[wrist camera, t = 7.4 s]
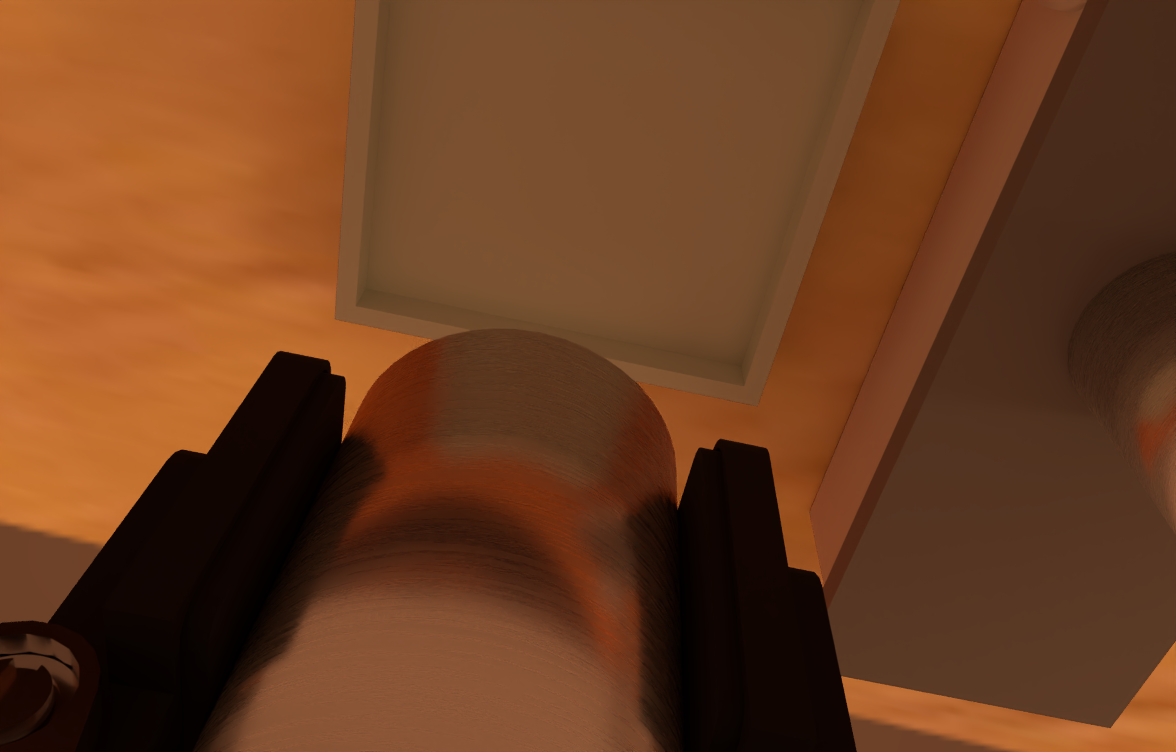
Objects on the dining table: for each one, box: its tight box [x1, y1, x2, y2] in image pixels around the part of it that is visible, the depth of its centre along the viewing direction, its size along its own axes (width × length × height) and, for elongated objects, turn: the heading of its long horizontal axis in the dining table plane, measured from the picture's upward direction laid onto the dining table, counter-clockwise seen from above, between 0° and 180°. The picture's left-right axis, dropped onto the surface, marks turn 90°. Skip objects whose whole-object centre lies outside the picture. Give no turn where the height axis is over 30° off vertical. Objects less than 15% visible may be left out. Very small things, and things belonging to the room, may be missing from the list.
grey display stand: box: [809, 0, 1176, 728], centre depth 22 cm, size 22×8×5 cm, turn 169°
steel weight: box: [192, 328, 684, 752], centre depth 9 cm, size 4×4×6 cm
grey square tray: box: [335, 0, 900, 406], centre depth 22 cm, size 11×11×2 cm
